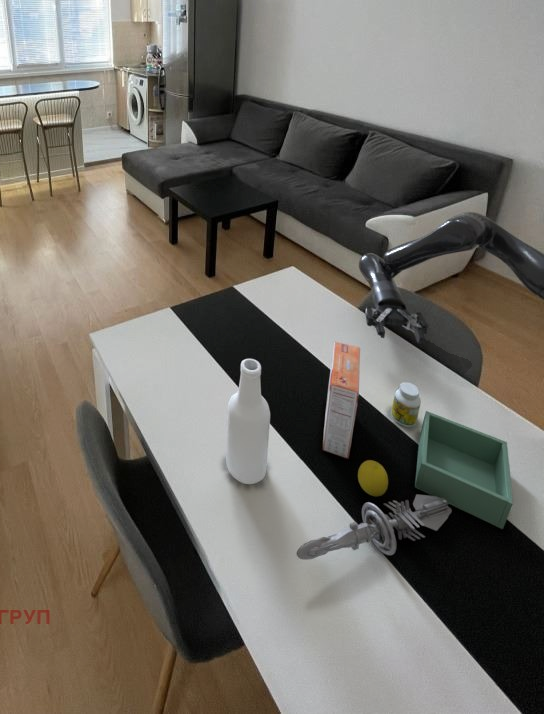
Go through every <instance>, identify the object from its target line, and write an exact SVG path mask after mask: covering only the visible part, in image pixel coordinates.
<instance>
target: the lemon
mask: <svg viewBox="0 0 544 714" xmlns="http://www.w3.org/2000/svg"><path fill="white" fill-rule="evenodd" d="M388 477H389V476H388V473H387V471H386V469H385V468H384V466H383V465H382V464H380V462H378V461H375V460H372V459H367V460H365V461H364V462H362V463H361V464H360V466H359V468H358V471H357V480H358V483H359V485H360V487H361V489H362V490H363V491H364V492H365V493H366V494H368V495H369V496H371V497H381V496H383V495H385V493H386V491H387V490H388V486H389V478H388Z"/></svg>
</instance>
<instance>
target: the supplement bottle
mask: <svg viewBox="0 0 544 714" xmlns="http://www.w3.org/2000/svg"><path fill="white" fill-rule="evenodd" d="M421 403H422V400H421V397H420V389H419V388H418V387H417V386H416V385H414V384H413V383H411V382H408V381H407V382H406V381H405V382H401V383H400V385H399V388H398V389H396V390H395V391H394V396H393V401H392V407H391V412H390V413H391V417H392V419H393V420H394V421H395V422H396V423H397V424H399V425H401V426H403V427H406V428H410V427H411V428H412V427H414V426H415V425H416V424H417V421H418V417H419V414H420V413H419V412H420V409H421V408H420V407H421V405H422V404H421Z"/></svg>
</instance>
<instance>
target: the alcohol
mask: <svg viewBox="0 0 544 714" xmlns="http://www.w3.org/2000/svg"><path fill="white" fill-rule="evenodd" d="M261 375H262V365H261V363H260V361H258V360H256V359H254V358H245V359H243V360H242V361H241V363H240V376H239V377H240V378H239V383H238V390H237V391H235V393H234V394H232V396H231V397H230V399H229V402H228V404H227V412H226V413H227V420H226V426H227V427H226V455H225V456H226V458H225V462H226V467H227V470H228V472H229V474H230V475H231V477H233V478H234V479H235V480H236V481H238V482H239V483H241V484H245V485H254V484H257V483H259V482H260V481H262V480H263V479H264V477H265V476H266V473H267V468H268V467H267V464H268V453H269V452H268V451H269V439H270V438H269V436H270V426H271V410H270V406H269V403H268V401H267V400H266V398H264V396H263V395H262V386H261Z"/></svg>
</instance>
